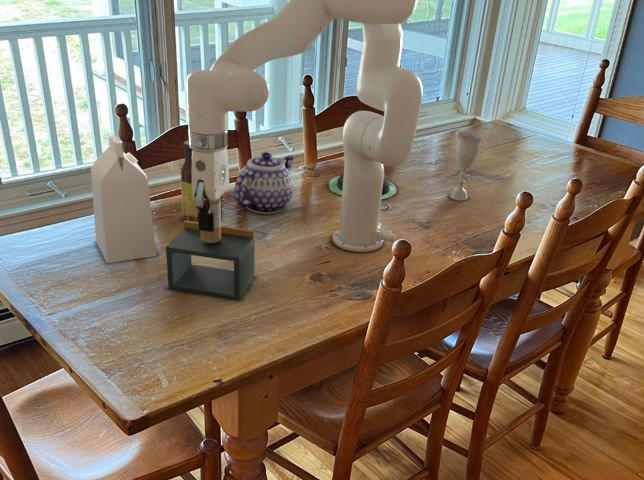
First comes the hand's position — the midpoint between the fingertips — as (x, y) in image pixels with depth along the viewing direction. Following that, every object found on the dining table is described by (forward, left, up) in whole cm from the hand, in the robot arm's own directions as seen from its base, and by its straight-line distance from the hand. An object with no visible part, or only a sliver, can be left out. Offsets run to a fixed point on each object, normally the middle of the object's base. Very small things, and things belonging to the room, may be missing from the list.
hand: (210, 224), depth 151 cm
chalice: (-50, -72, -14) cm, 89 cm away
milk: (+25, -10, -14) cm, 30 cm away
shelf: (0, 0, -14) cm, 14 cm away
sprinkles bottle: (0, 0, -4) cm, 4 cm away
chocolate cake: (-22, -70, -14) cm, 75 cm away
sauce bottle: (+16, -32, -14) cm, 38 cm away
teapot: (+1, -46, -14) cm, 48 cm away
